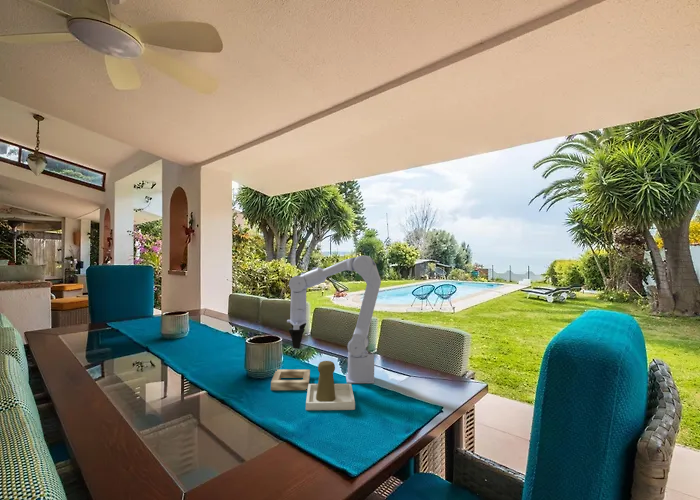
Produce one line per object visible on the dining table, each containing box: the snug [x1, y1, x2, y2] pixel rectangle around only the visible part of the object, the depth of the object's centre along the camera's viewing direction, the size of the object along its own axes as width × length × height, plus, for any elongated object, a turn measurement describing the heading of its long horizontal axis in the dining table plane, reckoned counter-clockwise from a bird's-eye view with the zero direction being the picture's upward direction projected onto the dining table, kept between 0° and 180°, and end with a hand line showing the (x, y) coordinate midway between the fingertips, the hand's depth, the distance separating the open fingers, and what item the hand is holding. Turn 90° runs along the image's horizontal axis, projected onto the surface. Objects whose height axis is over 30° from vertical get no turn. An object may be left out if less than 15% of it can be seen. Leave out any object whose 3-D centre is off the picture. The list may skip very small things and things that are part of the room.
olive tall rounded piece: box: [316, 360, 336, 402], centre depth 103 cm, size 6×6×11 cm
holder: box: [270, 369, 311, 391], centre depth 115 cm, size 12×12×2 cm
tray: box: [305, 383, 356, 411], centre depth 103 cm, size 14×14×2 cm
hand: (297, 345), depth 124 cm, fingers open, 7 cm apart
